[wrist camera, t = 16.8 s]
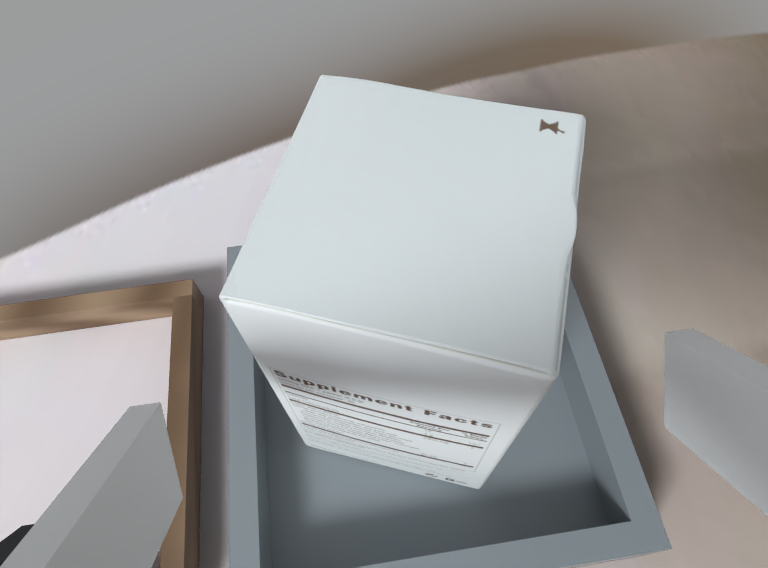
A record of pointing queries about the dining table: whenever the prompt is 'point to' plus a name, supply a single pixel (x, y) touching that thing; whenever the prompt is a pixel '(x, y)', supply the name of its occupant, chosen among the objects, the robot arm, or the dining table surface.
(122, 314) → the walnut collar
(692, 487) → the dining table surface
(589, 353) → the grey tray
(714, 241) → the dining table surface
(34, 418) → the dining table surface
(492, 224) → the supplement box
